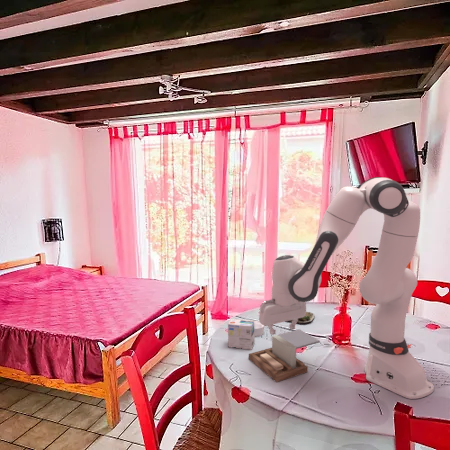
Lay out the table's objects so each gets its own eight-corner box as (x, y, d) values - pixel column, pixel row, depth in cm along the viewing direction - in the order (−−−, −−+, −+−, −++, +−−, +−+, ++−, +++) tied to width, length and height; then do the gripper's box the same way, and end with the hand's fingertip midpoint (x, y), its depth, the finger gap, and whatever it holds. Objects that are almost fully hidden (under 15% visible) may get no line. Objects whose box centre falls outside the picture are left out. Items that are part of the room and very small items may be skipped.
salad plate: (287, 309, 193) (287, 301, 192) (318, 314, 184) (319, 306, 183) (274, 320, 176) (274, 312, 175) (308, 327, 167) (309, 318, 167)
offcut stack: (283, 374, 125) (283, 365, 125) (276, 376, 124) (276, 367, 123) (266, 360, 135) (266, 353, 134) (260, 362, 133) (260, 354, 133)
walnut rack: (307, 371, 126) (307, 365, 126) (276, 382, 119) (276, 375, 119) (277, 350, 143) (277, 344, 142) (248, 358, 136) (248, 352, 136)
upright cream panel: (296, 369, 128) (296, 346, 127) (290, 371, 127) (290, 348, 126) (277, 355, 138) (277, 334, 137) (272, 357, 137) (272, 336, 136)
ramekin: (267, 331, 162) (267, 322, 162) (260, 338, 155) (260, 329, 154) (250, 328, 166) (250, 319, 166) (242, 335, 159) (242, 326, 158)
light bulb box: (255, 343, 150) (254, 319, 149) (252, 350, 143) (251, 325, 142) (231, 340, 153) (231, 317, 151) (227, 347, 146) (227, 323, 145)
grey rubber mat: (319, 342, 150) (319, 340, 150) (294, 349, 144) (294, 347, 144) (299, 330, 162) (299, 329, 162) (275, 336, 156) (275, 335, 156)
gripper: (265, 304, 122) (264, 340, 124) (309, 295, 131) (308, 329, 133) (256, 299, 127) (255, 333, 129) (298, 291, 137) (297, 323, 139)
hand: (282, 331), depth 131 cm, fingers open, 8 cm apart
